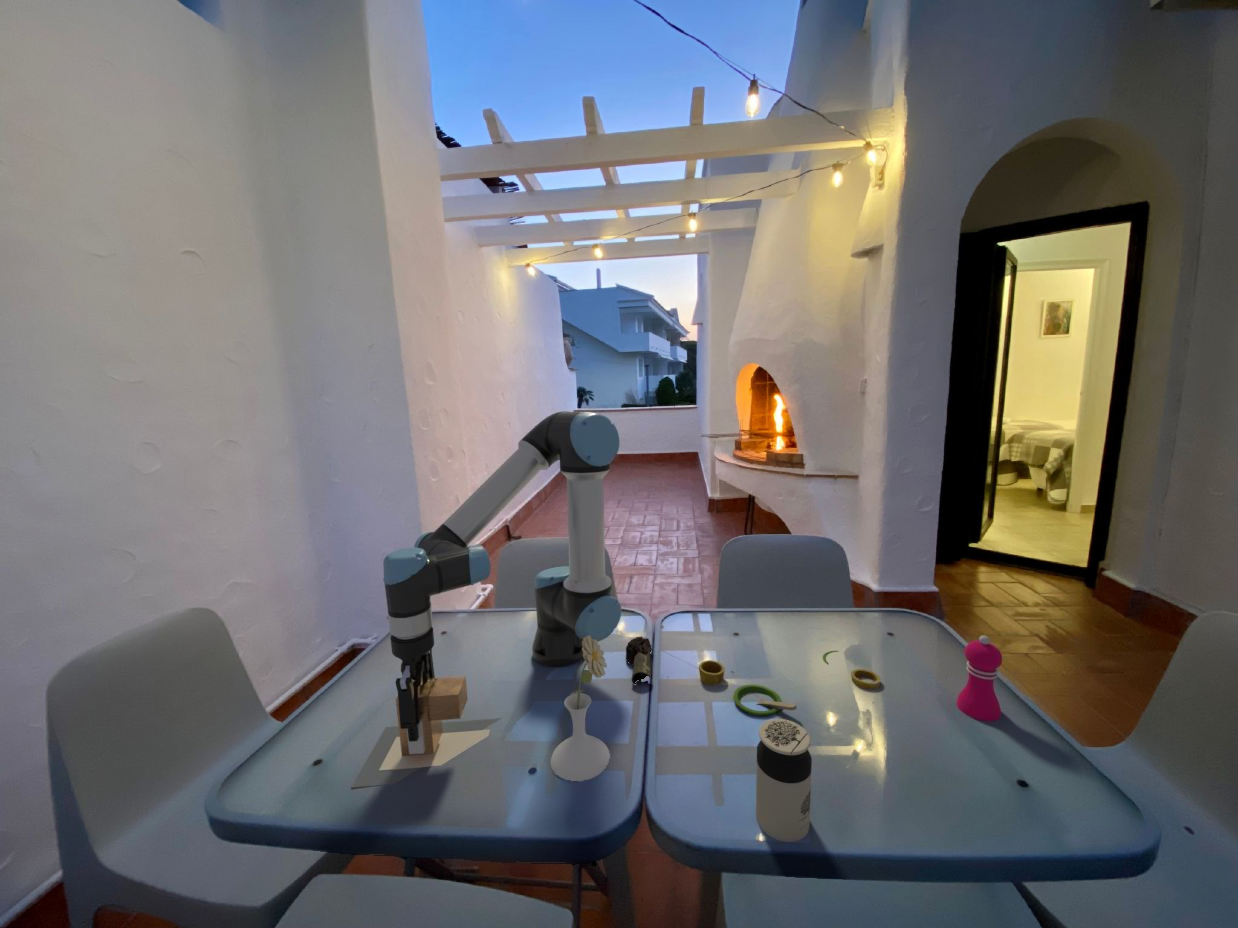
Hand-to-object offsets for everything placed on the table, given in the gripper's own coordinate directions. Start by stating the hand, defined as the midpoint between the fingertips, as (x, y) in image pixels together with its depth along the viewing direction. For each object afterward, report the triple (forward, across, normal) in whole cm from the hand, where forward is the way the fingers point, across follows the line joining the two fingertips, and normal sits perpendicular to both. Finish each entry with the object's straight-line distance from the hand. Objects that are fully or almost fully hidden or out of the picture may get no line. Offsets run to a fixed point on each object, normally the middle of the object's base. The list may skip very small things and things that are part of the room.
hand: (422, 739), depth 97 cm
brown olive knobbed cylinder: (+6, -18, +46) cm, 49 cm away
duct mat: (+3, 0, +3) cm, 4 cm away
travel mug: (+3, +25, +63) cm, 67 cm away
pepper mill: (+3, +5, +112) cm, 112 cm away
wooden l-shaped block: (+1, 0, 0) cm, 1 cm away
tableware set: (+4, -11, +79) cm, 80 cm away
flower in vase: (+4, +6, +32) cm, 32 cm away
